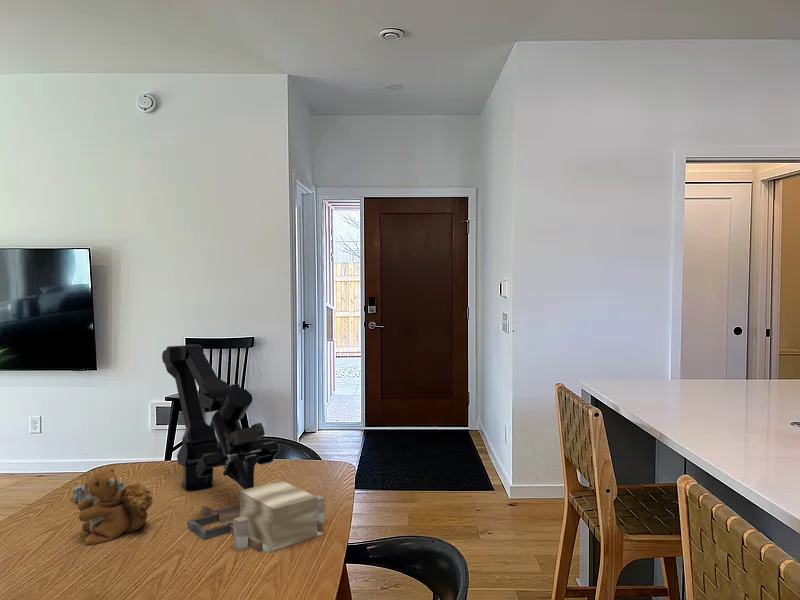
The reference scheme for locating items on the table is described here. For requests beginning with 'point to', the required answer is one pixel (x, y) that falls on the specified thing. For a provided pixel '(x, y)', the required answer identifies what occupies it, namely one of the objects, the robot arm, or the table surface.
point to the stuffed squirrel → (112, 507)
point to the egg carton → (81, 495)
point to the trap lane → (238, 525)
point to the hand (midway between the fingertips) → (251, 491)
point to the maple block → (279, 514)
